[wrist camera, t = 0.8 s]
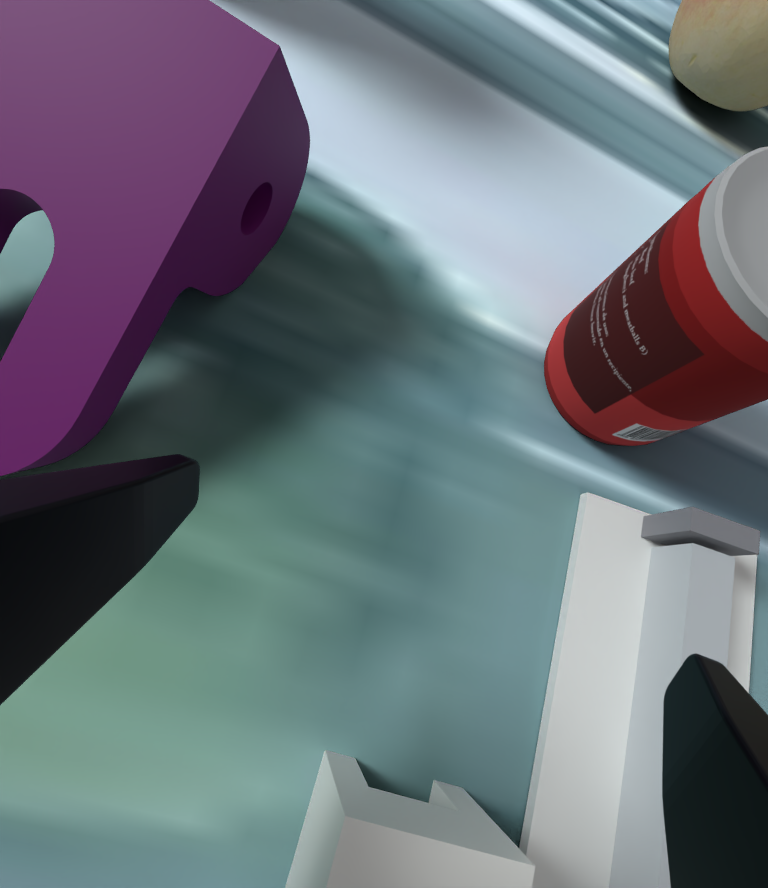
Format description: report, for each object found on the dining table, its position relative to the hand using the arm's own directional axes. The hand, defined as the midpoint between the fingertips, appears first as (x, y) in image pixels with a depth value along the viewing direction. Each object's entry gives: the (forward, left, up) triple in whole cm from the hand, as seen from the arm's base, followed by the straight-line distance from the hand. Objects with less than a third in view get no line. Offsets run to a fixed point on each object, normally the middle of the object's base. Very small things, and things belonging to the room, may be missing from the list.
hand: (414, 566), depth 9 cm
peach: (+36, -13, -13) cm, 41 cm away
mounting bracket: (+8, +14, -13) cm, 21 cm away
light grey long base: (-3, -14, -13) cm, 19 cm away
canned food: (+13, -10, -13) cm, 21 cm away
